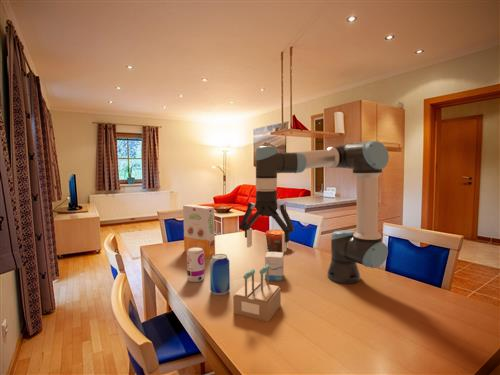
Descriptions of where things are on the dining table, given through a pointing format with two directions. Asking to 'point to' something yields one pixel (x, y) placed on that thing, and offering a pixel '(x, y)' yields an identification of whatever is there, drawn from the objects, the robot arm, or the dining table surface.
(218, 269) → the beer can
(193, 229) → the cereal box
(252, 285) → the far flap
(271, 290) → the near flap
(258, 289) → the carton
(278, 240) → the food container
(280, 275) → the ink box
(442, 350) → the dining table surface
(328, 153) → the robot arm
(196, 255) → the supplement can
